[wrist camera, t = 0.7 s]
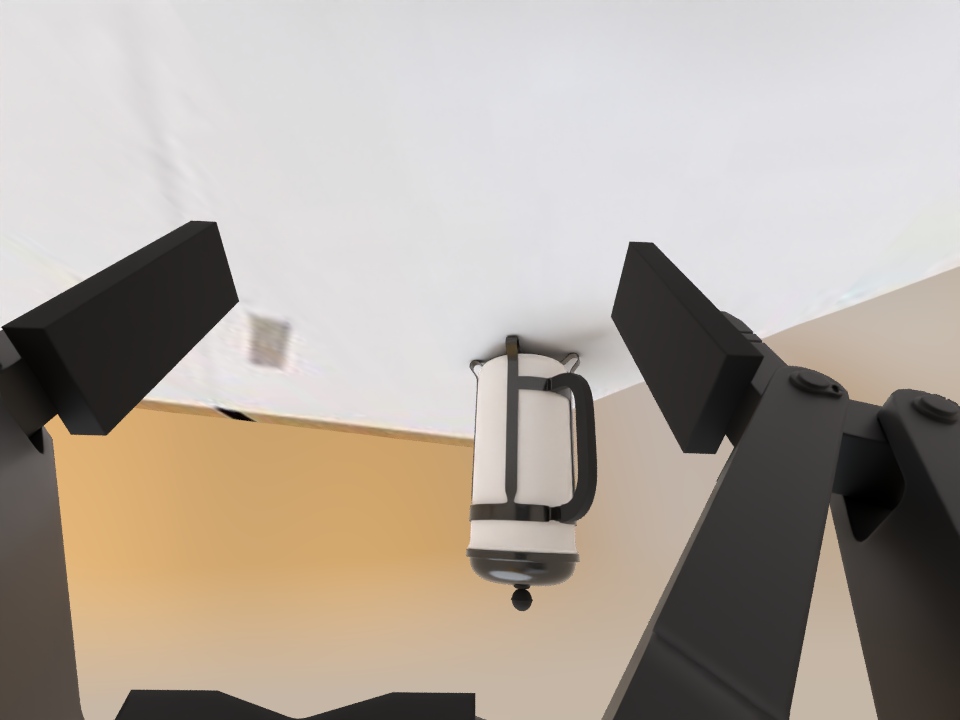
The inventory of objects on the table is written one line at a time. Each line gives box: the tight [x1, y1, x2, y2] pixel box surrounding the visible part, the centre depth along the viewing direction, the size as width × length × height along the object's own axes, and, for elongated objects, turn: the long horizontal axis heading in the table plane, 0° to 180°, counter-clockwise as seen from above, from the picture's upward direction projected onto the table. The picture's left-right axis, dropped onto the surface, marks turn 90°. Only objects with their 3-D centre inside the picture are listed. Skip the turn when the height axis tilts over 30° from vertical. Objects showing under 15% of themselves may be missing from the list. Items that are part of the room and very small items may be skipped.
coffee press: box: [466, 337, 597, 611], centre depth 52 cm, size 17×16×30 cm
